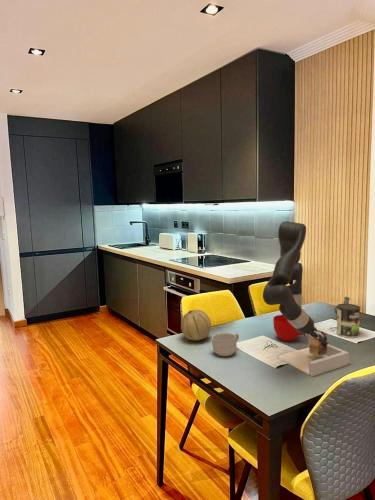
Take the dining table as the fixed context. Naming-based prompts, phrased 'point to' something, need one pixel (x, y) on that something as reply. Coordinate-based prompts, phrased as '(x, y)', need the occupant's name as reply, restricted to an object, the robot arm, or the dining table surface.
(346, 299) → the mortar and pestle
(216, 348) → the teacup
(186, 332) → the cantaloupe
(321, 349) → the wood block
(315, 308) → the dining table surface
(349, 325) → the coffee can
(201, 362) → the dining table surface
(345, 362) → the platform
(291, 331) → the ceramic cup
